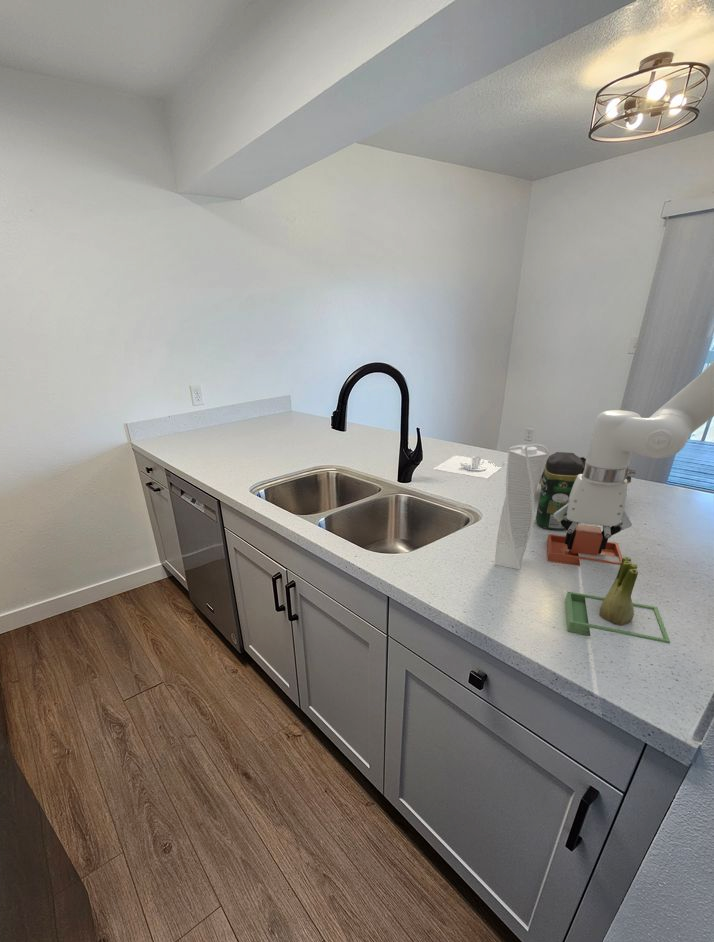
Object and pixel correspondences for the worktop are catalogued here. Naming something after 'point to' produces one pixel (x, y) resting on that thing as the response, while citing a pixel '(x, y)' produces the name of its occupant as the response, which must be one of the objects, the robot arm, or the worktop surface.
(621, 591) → the fennel bulb
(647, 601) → the worktop surface
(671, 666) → the worktop surface
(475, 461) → the teacup and saucer
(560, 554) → the terracotta tray
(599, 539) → the terracotta block
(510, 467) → the skyscraper
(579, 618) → the green rectangular frame
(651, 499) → the worktop surface
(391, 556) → the worktop surface
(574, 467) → the coffee jar
